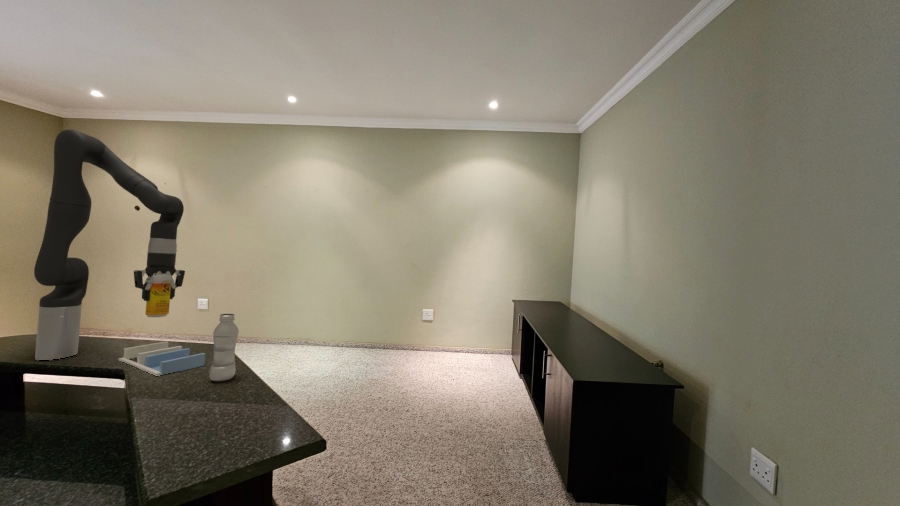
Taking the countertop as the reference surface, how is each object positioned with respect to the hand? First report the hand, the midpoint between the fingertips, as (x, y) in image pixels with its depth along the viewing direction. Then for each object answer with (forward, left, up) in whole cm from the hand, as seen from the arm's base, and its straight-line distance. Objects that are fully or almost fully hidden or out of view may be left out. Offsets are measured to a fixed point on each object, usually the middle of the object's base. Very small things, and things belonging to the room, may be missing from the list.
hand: (158, 299), depth 115 cm
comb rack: (+7, 0, -21) cm, 22 cm away
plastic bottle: (+36, +2, -21) cm, 41 cm away
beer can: (0, 0, -6) cm, 6 cm away
